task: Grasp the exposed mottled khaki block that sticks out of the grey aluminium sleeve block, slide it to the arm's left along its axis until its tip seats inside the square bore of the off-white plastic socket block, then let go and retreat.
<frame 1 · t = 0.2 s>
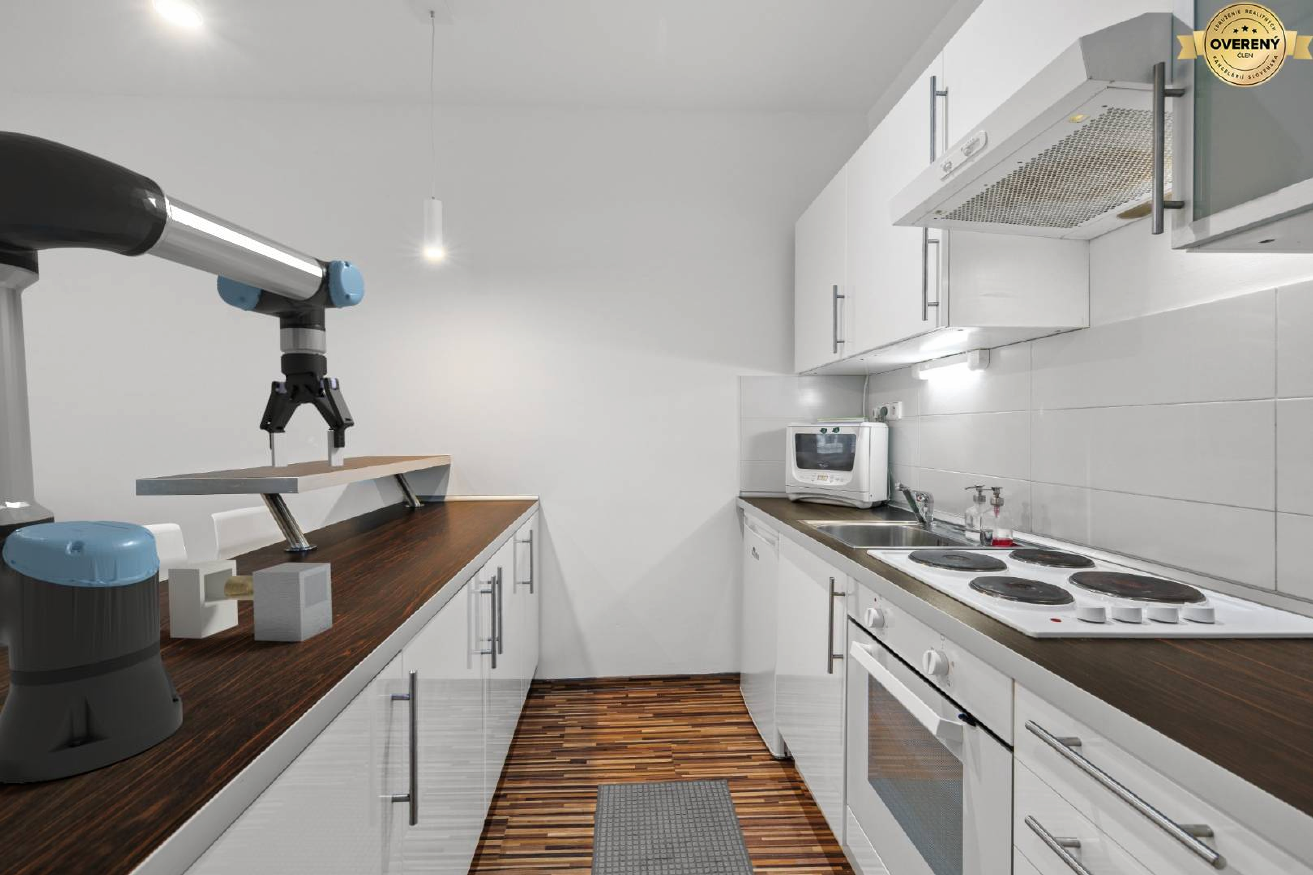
hand: (307, 466, 113), 27 cm above the counter, fingers open, 13 cm apart
mottled khaki block: (270, 588, 100), point 7 cm above the counter, slide at 0.0 cm
sleeve: (294, 633, 99), on the counter
socket: (205, 630, 102), on the counter
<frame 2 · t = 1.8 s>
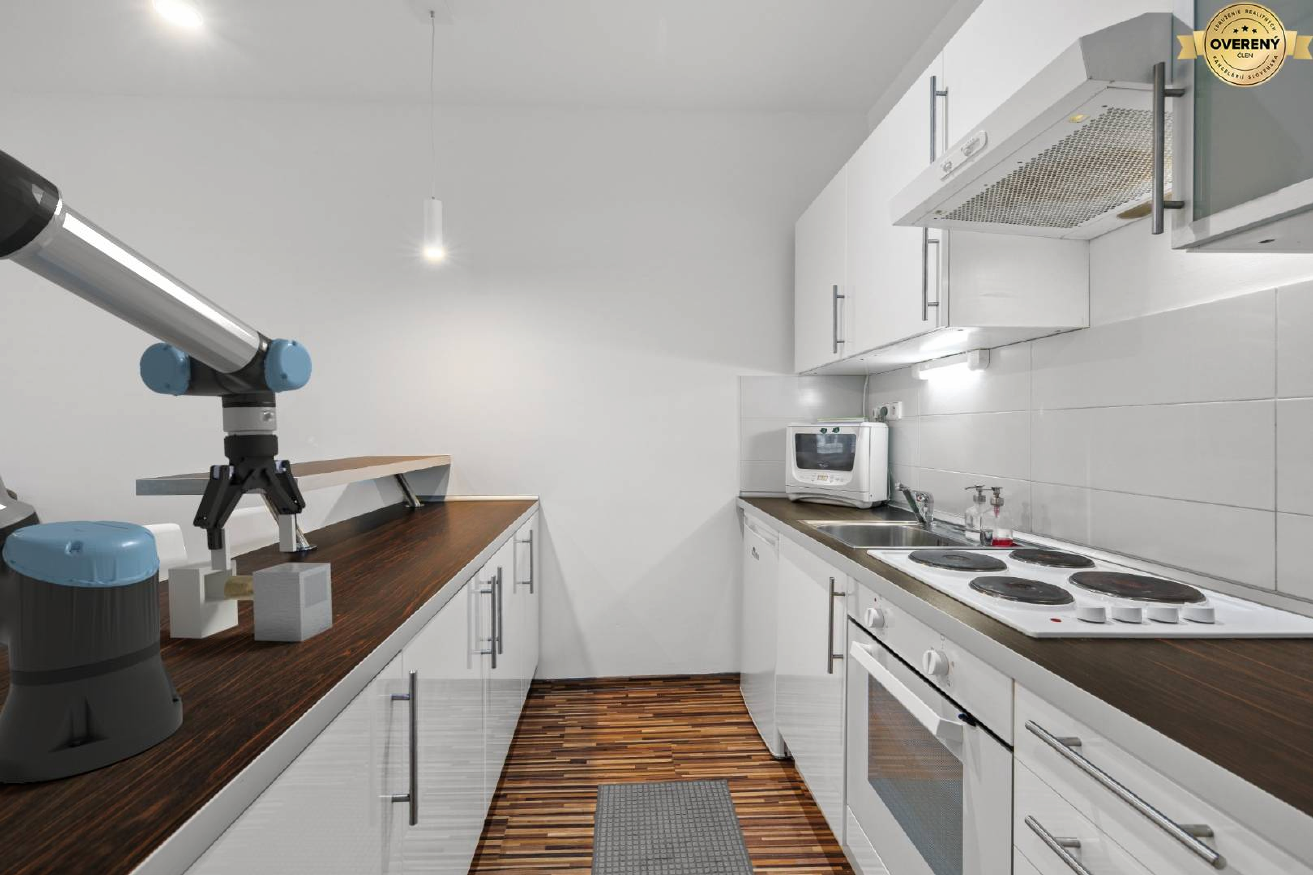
hand: (256, 559, 101), 12 cm above the counter, fingers open, 13 cm apart
nothing on the counter moved.
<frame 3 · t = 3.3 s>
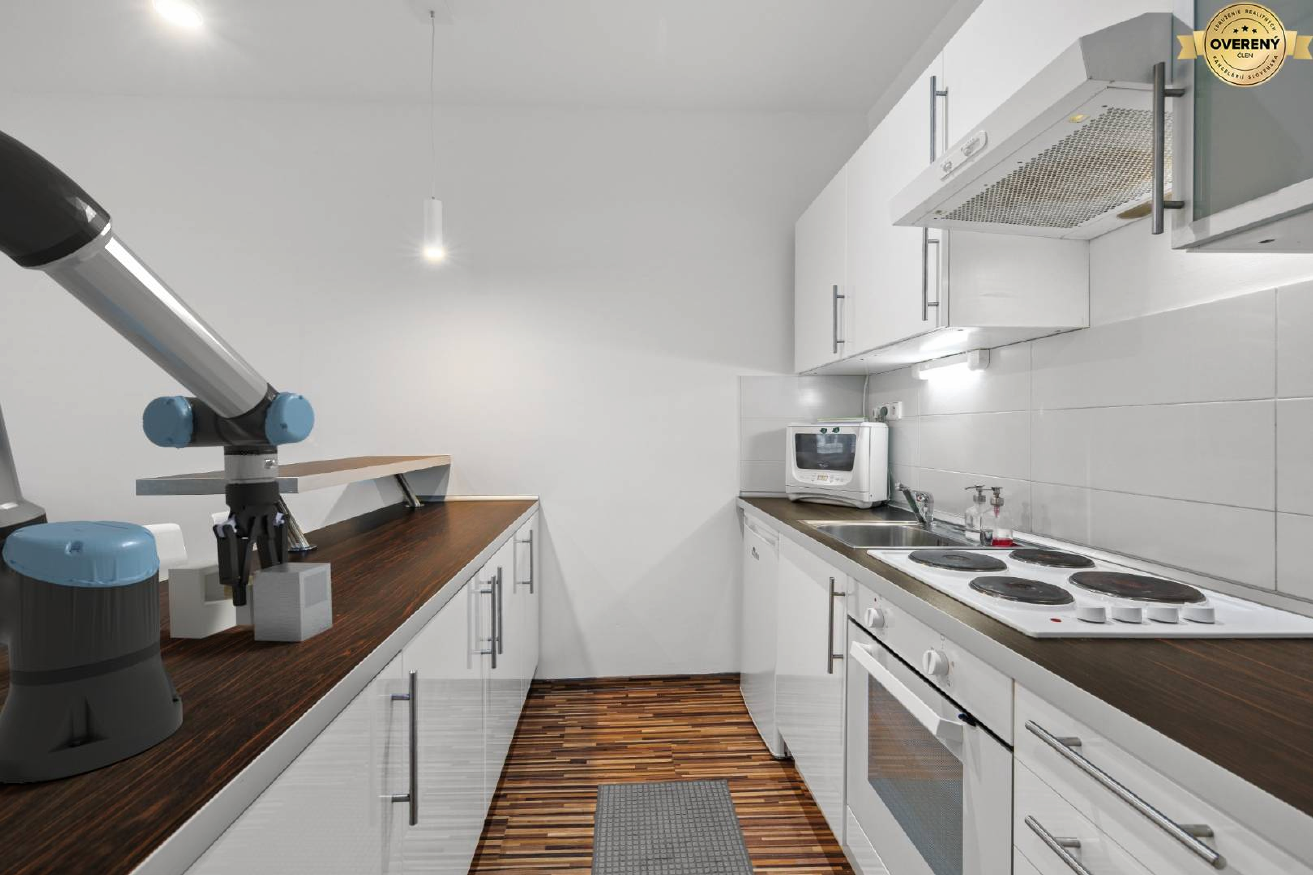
hand: (257, 619, 100), 2 cm above the counter, fingers closed on mottled khaki block, 4 cm apart
mottled khaki block: (270, 588, 100), point 7 cm above the counter, slide at 0.0 cm, touching gripper
everything else where it was.
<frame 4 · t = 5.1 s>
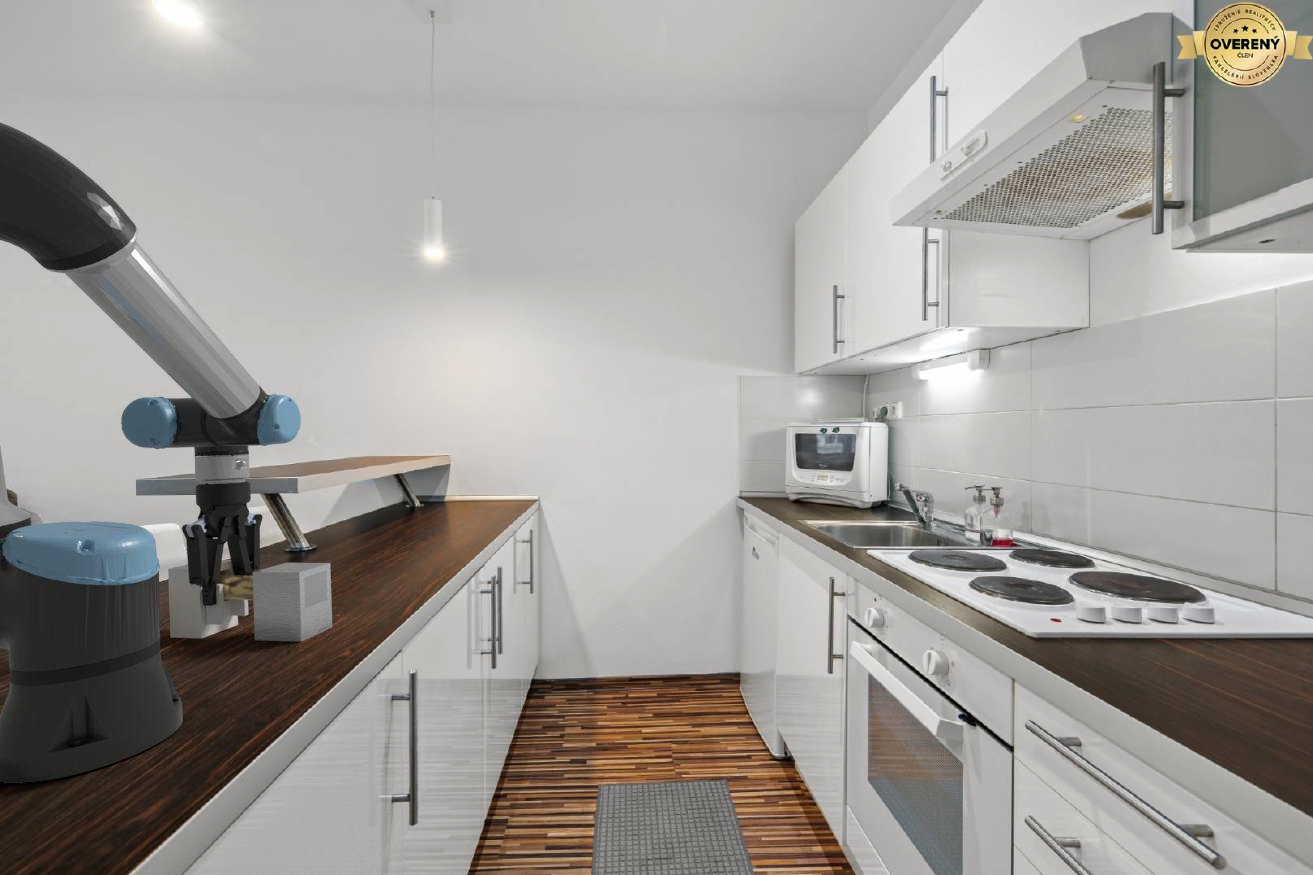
hand: (227, 618, 101), 2 cm above the counter, fingers closed on mottled khaki block, 4 cm apart
mottled khaki block: (241, 587, 101), point 8 cm above the counter, slide at 5.6 cm, touching gripper
everything else where it was.
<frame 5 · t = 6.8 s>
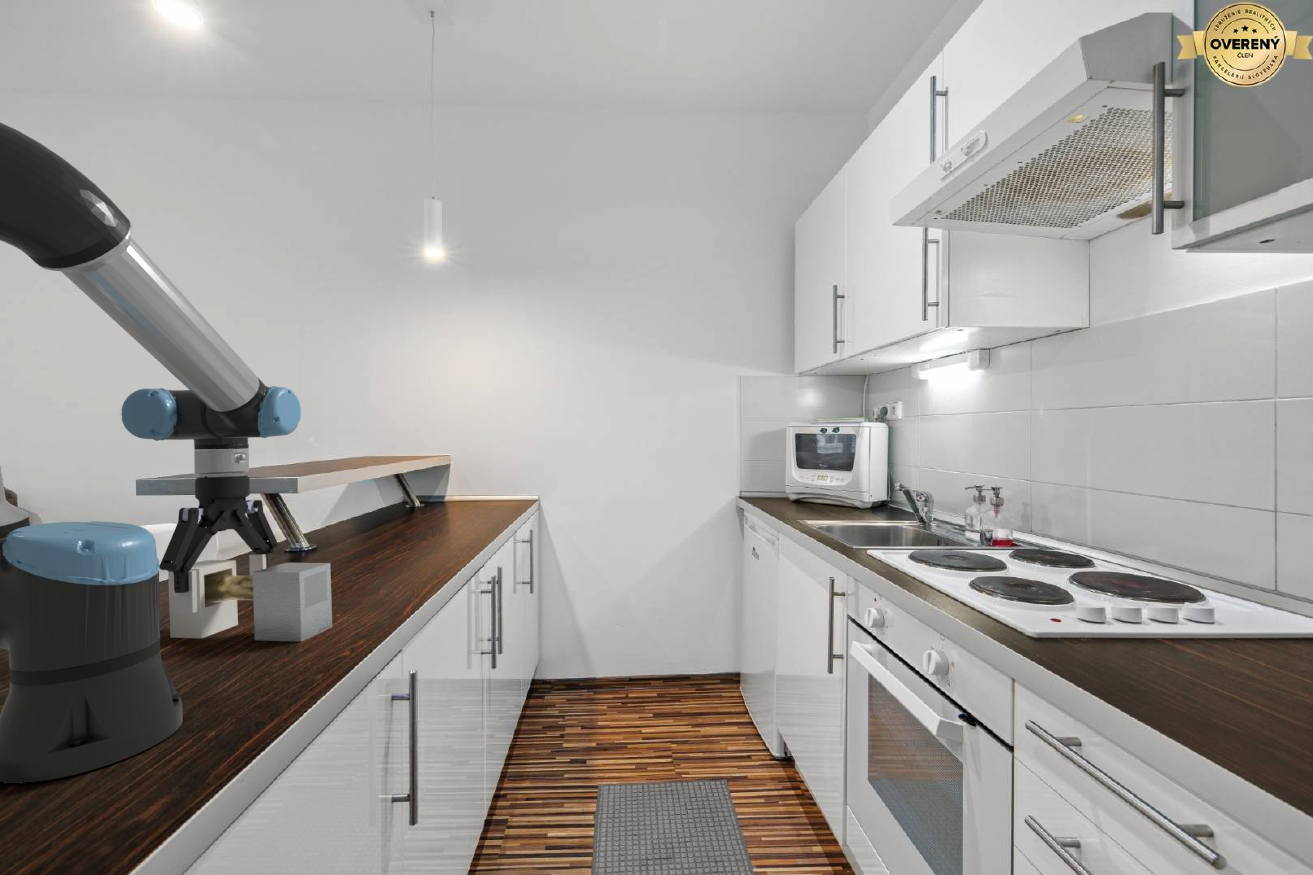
hand: (225, 601, 101), 5 cm above the counter, fingers open, 13 cm apart
mottled khaki block: (241, 587, 101), point 7 cm above the counter, slide at 5.7 cm
everything else where it was.
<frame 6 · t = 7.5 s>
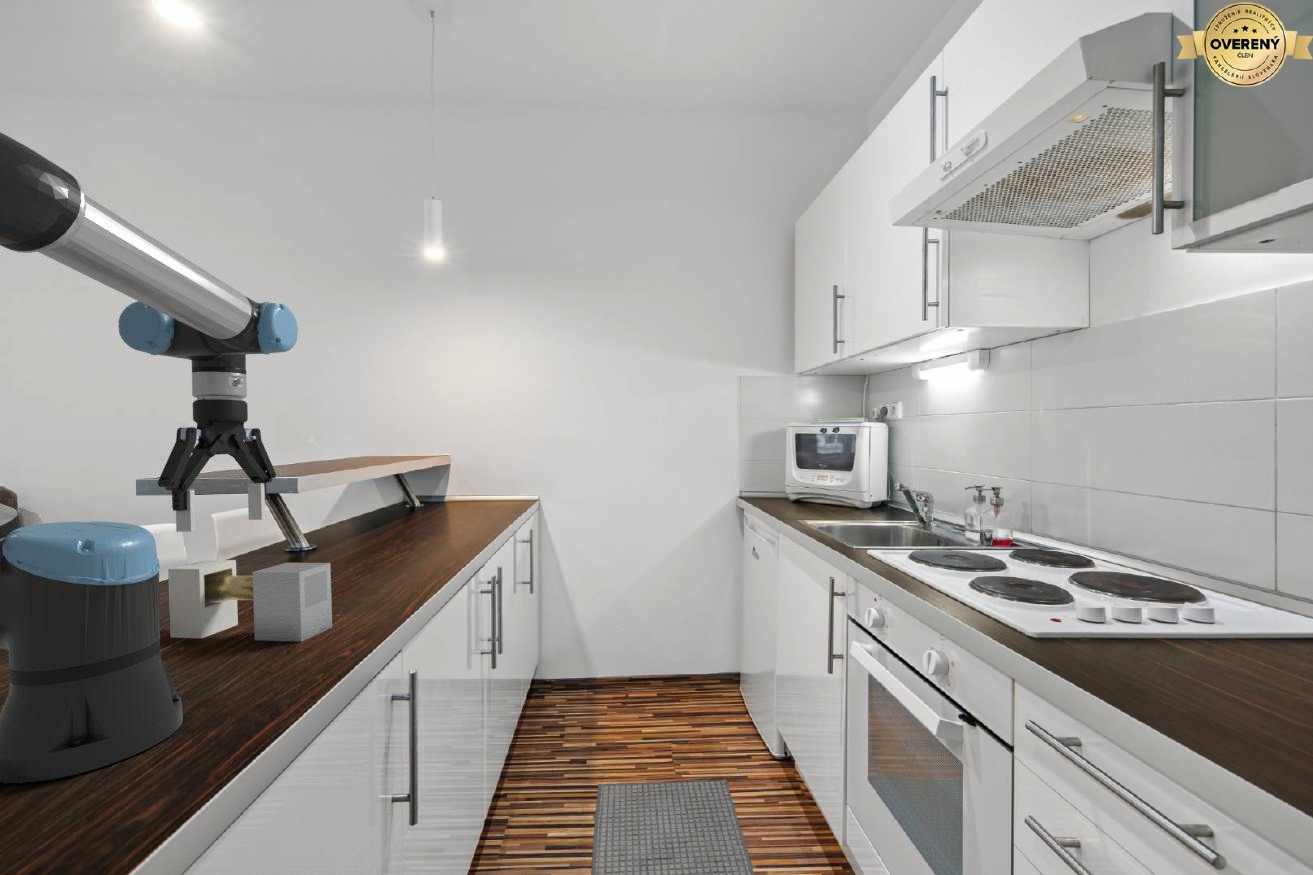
hand: (223, 525, 101), 18 cm above the counter, fingers open, 13 cm apart
nothing on the counter moved.
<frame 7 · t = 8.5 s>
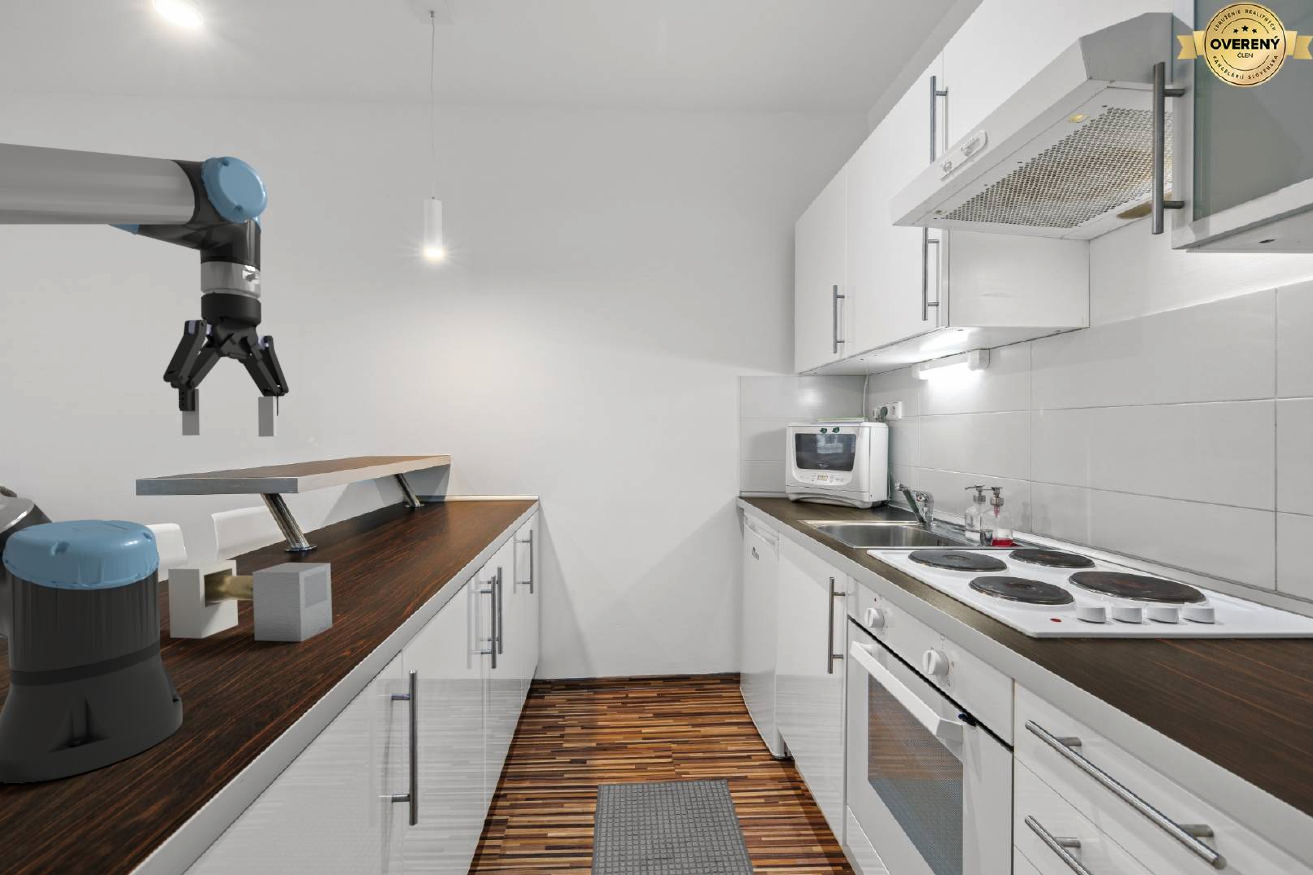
hand: (233, 436, 91), 33 cm above the counter, fingers open, 13 cm apart
nothing on the counter moved.
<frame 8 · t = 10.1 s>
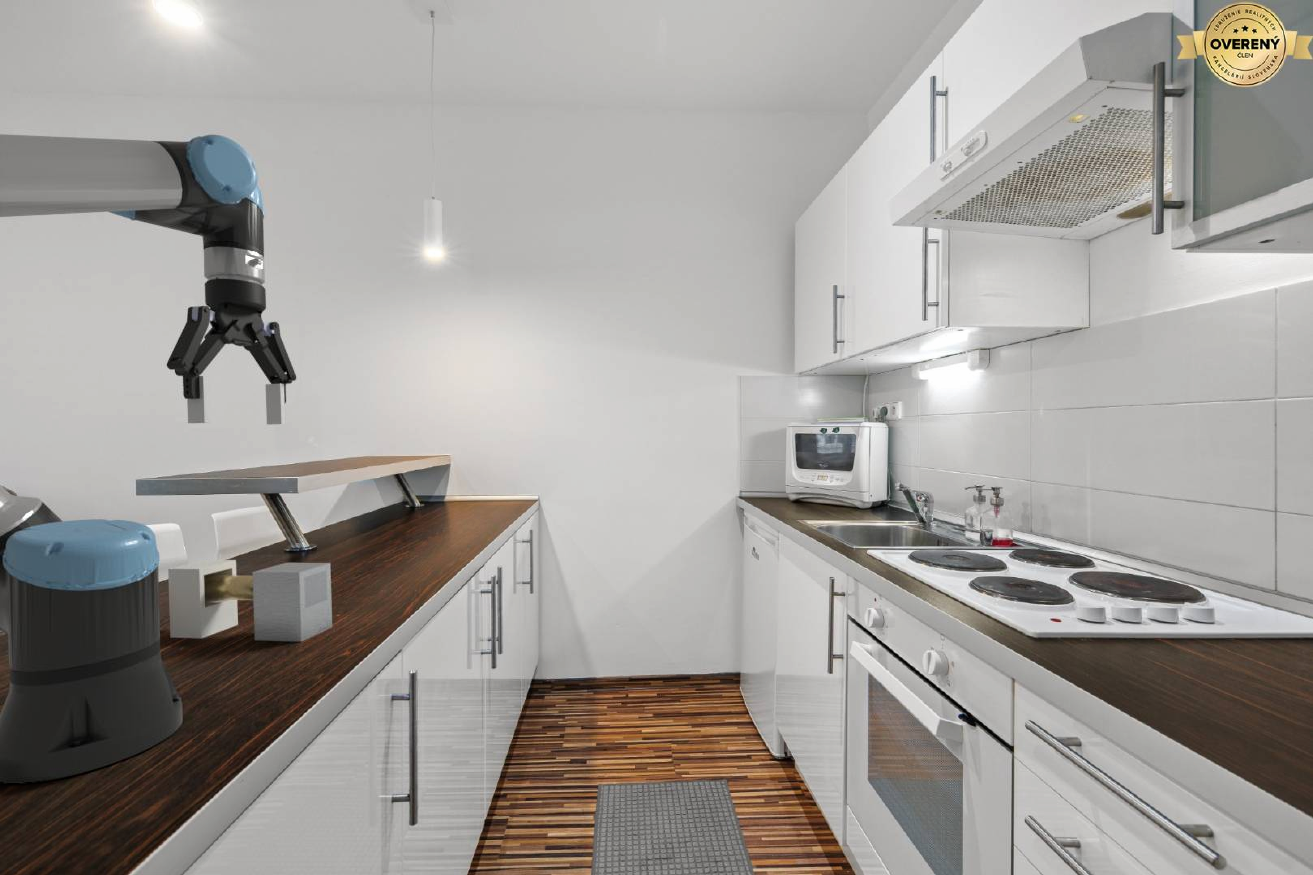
hand: (240, 424, 90), 35 cm above the counter, fingers open, 13 cm apart
nothing on the counter moved.
at the end: mottled khaki block slide at 5.7 cm; the gripper is holding nothing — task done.
